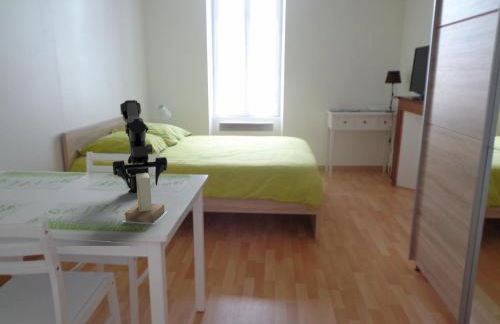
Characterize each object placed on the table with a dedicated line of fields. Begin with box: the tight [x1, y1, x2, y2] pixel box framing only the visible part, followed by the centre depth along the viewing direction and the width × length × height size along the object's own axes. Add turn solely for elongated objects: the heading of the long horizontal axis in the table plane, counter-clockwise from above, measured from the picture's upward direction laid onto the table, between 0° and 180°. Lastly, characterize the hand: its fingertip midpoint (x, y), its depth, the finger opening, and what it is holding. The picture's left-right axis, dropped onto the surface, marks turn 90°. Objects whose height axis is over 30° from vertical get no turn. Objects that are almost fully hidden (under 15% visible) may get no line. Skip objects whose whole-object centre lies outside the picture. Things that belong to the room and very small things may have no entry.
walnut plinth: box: [124, 203, 165, 223], centre depth 130 cm, size 10×10×3 cm
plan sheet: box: [121, 210, 169, 225], centre depth 131 cm, size 12×12×1 cm
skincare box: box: [136, 173, 152, 212], centre depth 128 cm, size 6×4×12 cm
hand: (143, 186), depth 129 cm, fingers open, 9 cm apart
